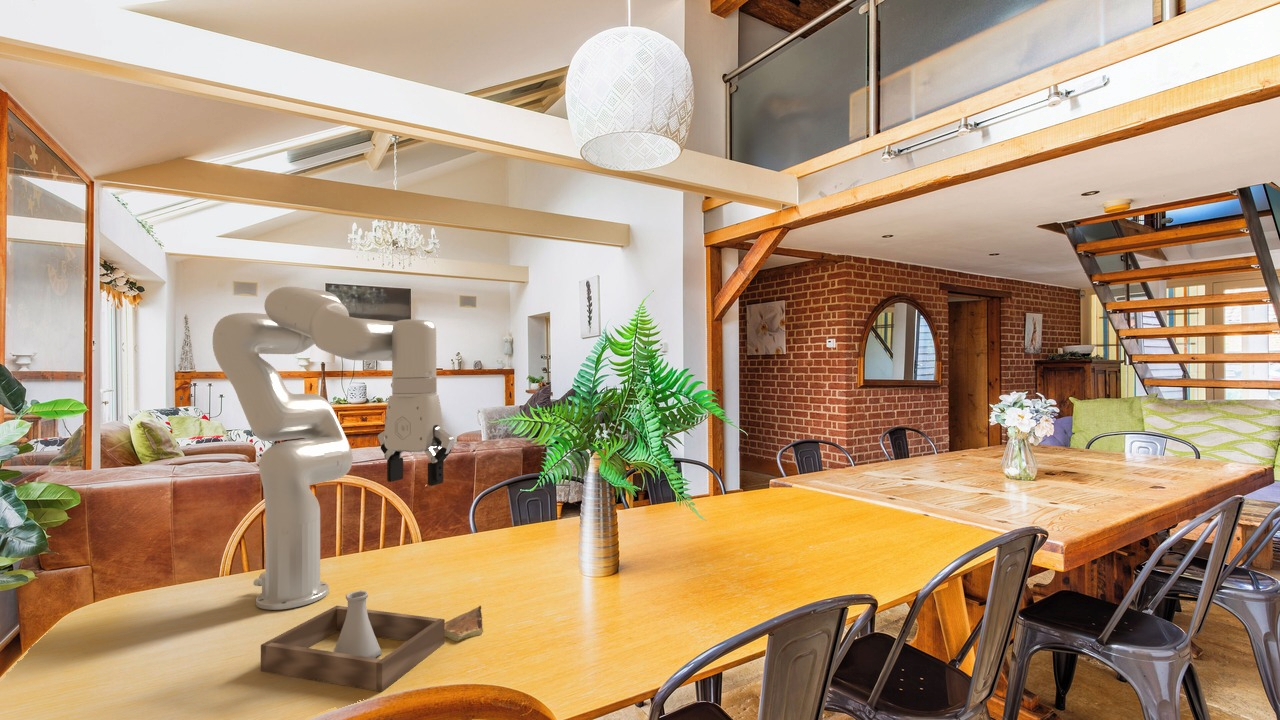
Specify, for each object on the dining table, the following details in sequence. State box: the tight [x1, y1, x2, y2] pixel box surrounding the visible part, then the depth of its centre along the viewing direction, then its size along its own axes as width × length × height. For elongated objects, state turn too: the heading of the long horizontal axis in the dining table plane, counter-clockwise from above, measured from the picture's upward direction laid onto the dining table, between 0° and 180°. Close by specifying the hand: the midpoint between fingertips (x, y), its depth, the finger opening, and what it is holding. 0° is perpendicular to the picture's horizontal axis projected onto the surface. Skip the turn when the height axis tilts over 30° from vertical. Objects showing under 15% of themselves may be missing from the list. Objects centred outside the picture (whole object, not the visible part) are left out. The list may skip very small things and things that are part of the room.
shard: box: [445, 605, 484, 642], centre depth 103 cm, size 11×8×2 cm
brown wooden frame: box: [260, 605, 446, 693], centre depth 93 cm, size 22×15×4 cm
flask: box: [332, 590, 382, 658], centre depth 93 cm, size 7×7×10 cm
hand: (415, 482), depth 105 cm, fingers open, 9 cm apart
